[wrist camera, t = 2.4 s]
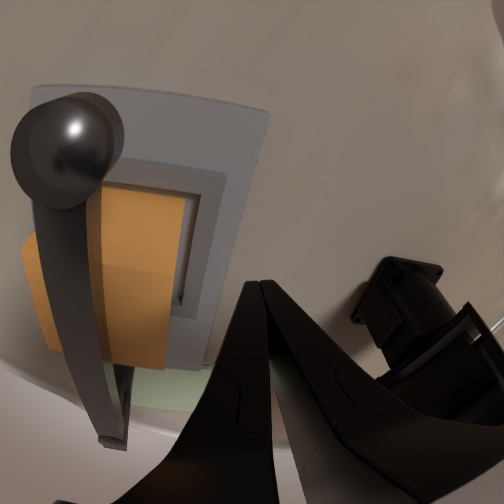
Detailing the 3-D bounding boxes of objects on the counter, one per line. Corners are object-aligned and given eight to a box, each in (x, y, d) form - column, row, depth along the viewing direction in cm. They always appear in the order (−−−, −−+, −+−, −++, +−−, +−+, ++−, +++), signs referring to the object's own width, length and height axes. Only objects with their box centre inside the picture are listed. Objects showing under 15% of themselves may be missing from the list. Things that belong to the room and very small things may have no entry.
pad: (228, 367, 25) (228, 371, 25) (212, 409, 30) (212, 413, 30) (124, 355, 23) (124, 359, 23) (130, 401, 28) (130, 404, 28)
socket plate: (266, 111, 14) (273, 117, 12) (200, 362, 24) (200, 379, 23) (41, 84, 11) (23, 89, 9) (65, 340, 22) (59, 357, 20)
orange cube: (185, 198, 15) (174, 274, 10) (172, 287, 18) (164, 370, 13) (75, 183, 14) (20, 249, 9) (80, 273, 17) (49, 349, 12)
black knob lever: (142, 357, 22) (133, 455, 15) (112, 353, 21) (97, 448, 14) (169, 79, 11) (110, 104, 5) (117, 74, 11) (11, 102, 4)
